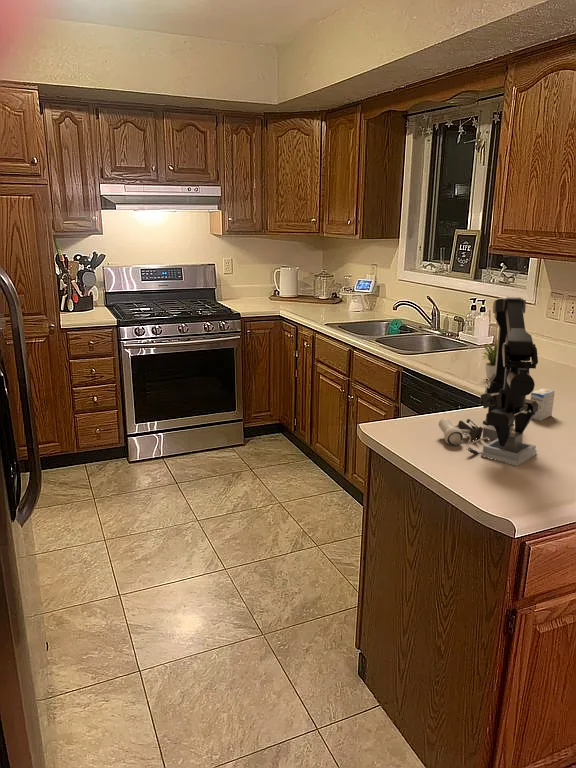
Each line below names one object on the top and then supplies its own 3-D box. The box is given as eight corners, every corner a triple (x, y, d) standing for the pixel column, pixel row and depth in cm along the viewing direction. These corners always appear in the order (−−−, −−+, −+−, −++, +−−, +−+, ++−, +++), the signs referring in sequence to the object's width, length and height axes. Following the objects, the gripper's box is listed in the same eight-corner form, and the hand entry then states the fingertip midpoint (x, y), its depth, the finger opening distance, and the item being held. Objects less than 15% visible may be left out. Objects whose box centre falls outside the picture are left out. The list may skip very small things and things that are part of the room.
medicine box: (538, 413, 200) (541, 387, 198) (552, 415, 197) (555, 390, 195) (528, 418, 195) (530, 392, 193) (541, 421, 192) (544, 395, 190)
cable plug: (488, 436, 179) (489, 424, 178) (510, 441, 174) (511, 430, 173) (482, 439, 177) (483, 427, 176) (504, 444, 172) (505, 433, 171)
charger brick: (505, 446, 167) (507, 427, 165) (521, 450, 164) (523, 431, 162) (497, 451, 164) (499, 431, 162) (513, 455, 161) (515, 435, 159)
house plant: (490, 385, 234) (493, 344, 229) (466, 377, 246) (469, 338, 242) (518, 381, 239) (522, 341, 235) (493, 374, 251) (496, 335, 247)
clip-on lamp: (495, 463, 166) (468, 429, 182) (502, 444, 163) (474, 411, 179) (456, 463, 164) (432, 428, 180) (462, 443, 161) (437, 409, 177)
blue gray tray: (501, 444, 171) (502, 435, 171) (536, 453, 165) (537, 444, 164) (480, 456, 163) (481, 446, 163) (516, 466, 156) (517, 456, 156)
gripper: (502, 374, 171) (498, 427, 175) (469, 387, 158) (465, 443, 162) (541, 381, 163) (536, 436, 167) (510, 395, 150) (504, 453, 154)
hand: (510, 441), depth 163 cm, fingers open, 9 cm apart
